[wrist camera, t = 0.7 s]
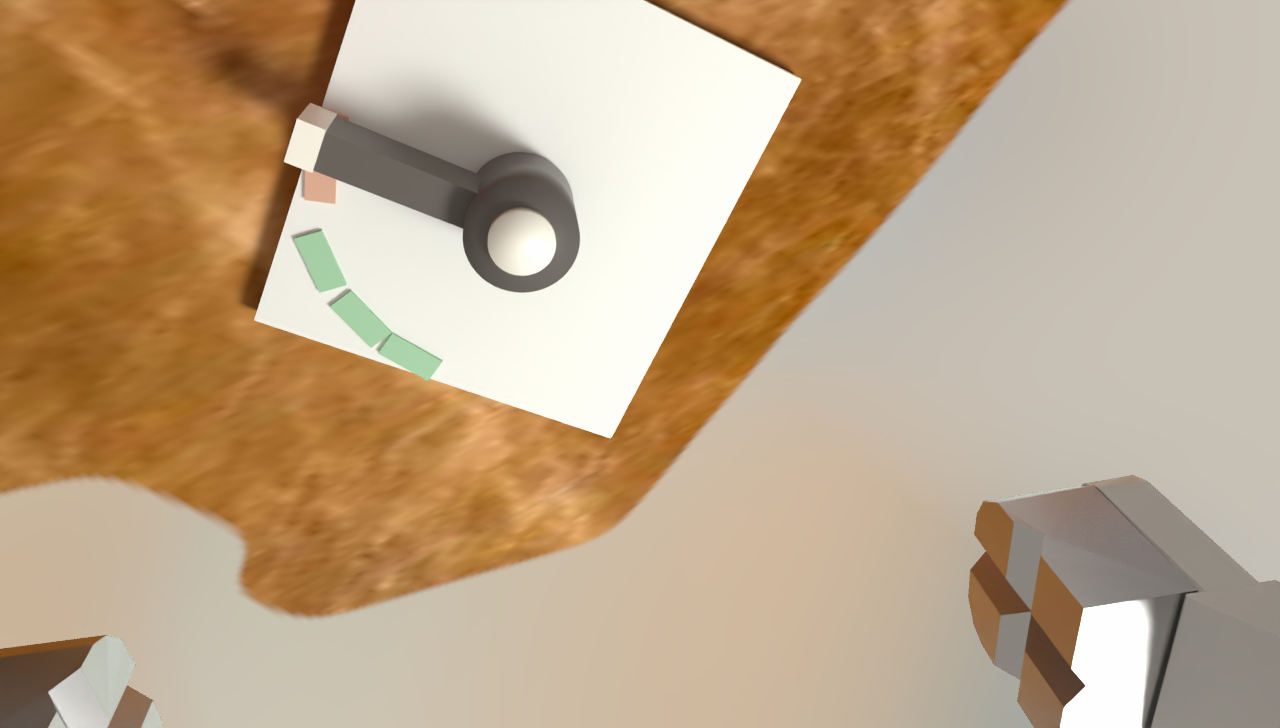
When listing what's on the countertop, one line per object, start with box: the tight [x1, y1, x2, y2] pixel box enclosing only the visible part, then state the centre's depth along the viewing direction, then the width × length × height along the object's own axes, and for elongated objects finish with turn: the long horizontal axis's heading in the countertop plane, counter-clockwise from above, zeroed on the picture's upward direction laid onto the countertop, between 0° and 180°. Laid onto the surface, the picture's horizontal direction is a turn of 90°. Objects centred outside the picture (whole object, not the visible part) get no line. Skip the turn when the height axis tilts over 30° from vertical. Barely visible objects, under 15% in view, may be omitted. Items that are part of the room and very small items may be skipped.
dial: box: [284, 103, 580, 293], centre depth 41 cm, size 13×5×5 cm, turn 64°
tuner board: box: [254, 0, 801, 438], centre depth 45 cm, size 22×20×1 cm
